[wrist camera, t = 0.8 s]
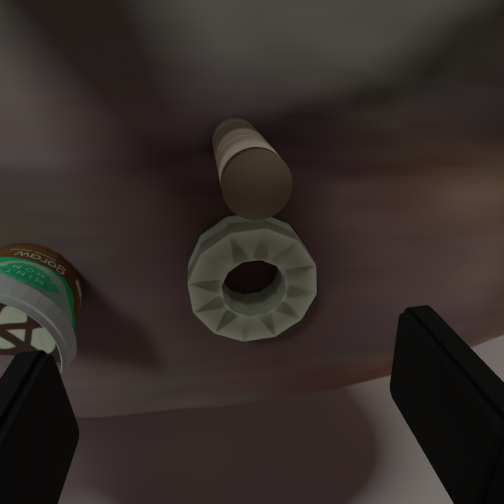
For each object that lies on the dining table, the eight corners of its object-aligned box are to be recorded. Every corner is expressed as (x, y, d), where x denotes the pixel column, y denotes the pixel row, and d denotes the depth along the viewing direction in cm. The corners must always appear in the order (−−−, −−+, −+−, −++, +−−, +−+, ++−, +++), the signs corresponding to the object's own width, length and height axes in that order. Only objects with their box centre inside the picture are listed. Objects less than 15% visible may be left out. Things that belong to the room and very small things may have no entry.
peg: (208, 119, 33) (217, 155, 21) (255, 114, 33) (291, 146, 21) (215, 165, 35) (226, 224, 22) (259, 160, 35) (294, 215, 23)
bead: (180, 223, 37) (178, 240, 33) (303, 206, 38) (315, 221, 34) (199, 324, 42) (200, 348, 39) (307, 307, 43) (317, 329, 40)
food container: (109, 251, 37) (83, 311, 28) (97, 303, 39) (68, 374, 31) (-35, 214, 34) (-117, 269, 25) (-40, 273, 36) (-116, 343, 27)
